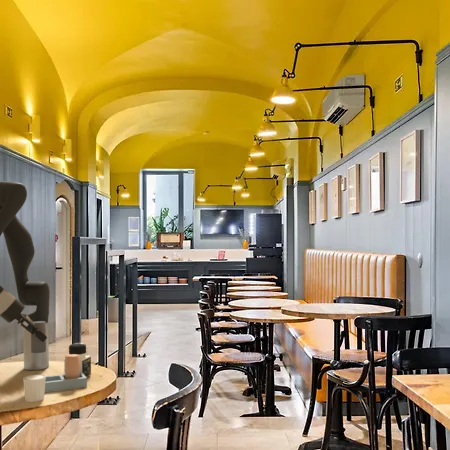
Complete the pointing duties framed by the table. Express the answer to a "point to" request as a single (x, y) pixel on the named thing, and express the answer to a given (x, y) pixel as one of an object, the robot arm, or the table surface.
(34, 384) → the white cup
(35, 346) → the dark gray block
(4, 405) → the table surface
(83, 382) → the grey compartment tray
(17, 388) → the table surface
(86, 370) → the medicine bottle
